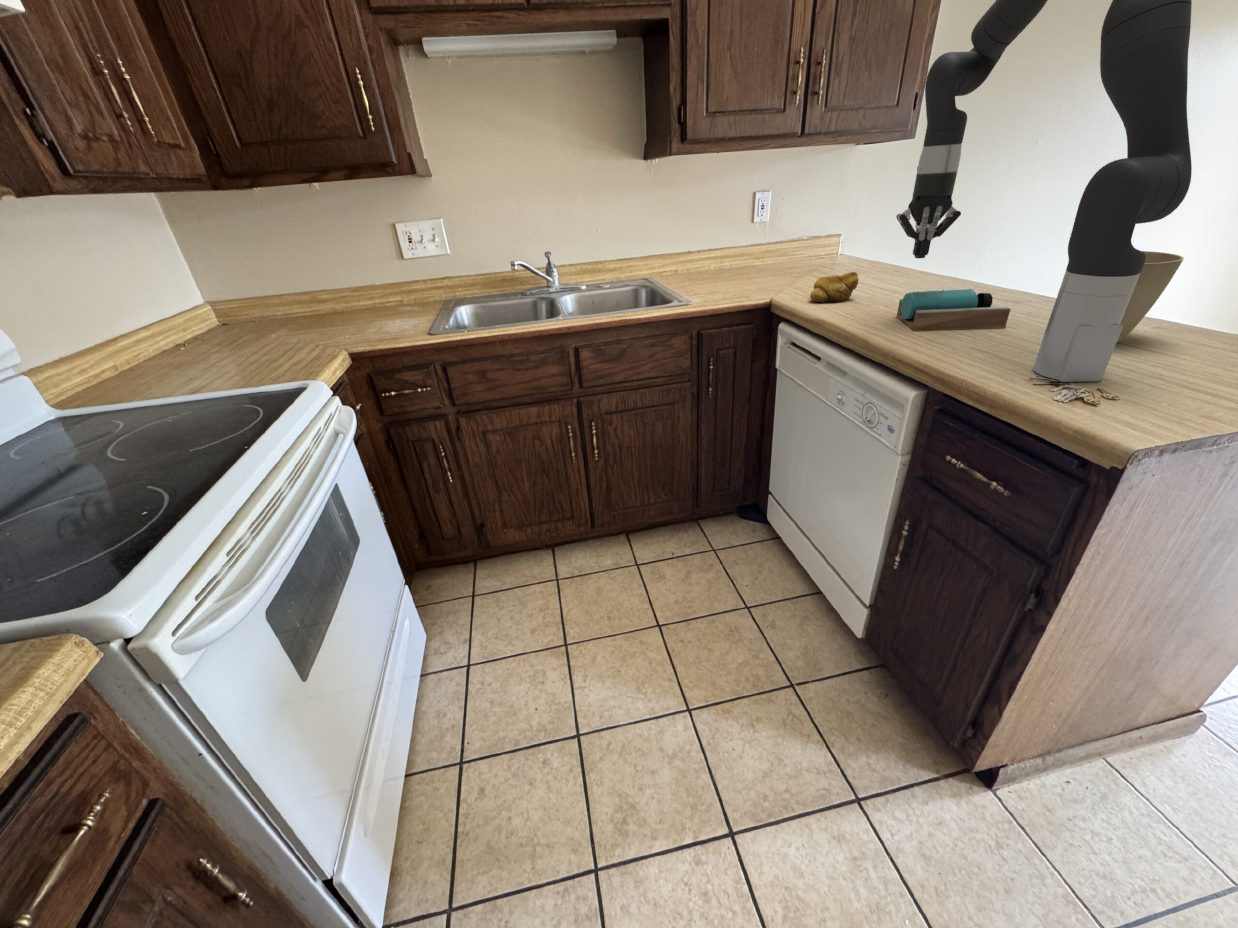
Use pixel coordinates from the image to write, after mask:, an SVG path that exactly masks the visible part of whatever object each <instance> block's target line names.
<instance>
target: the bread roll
mask: <svg viewBox="0 0 1238 928" xmlns="http://www.w3.org/2000/svg"><path fill="white" fill-rule="evenodd" d="M858 284H859V275H858V273H857V272H855V271H850V272H847V273H843V274H841V275H838V274H836V275H830V276H829V275H828V276H821V277H818V279H817V280H816V281H815V282H814V284H813V289H812V291H811V292H810V295H809V297H810V299H811V301H813V302H816V303H828V302H834V303H837V302H839V303H840V302H844V301H847V300H849V299H850V298H851V296H852V294H853V291H854V290H856V288H857V287H858Z"/></svg>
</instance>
